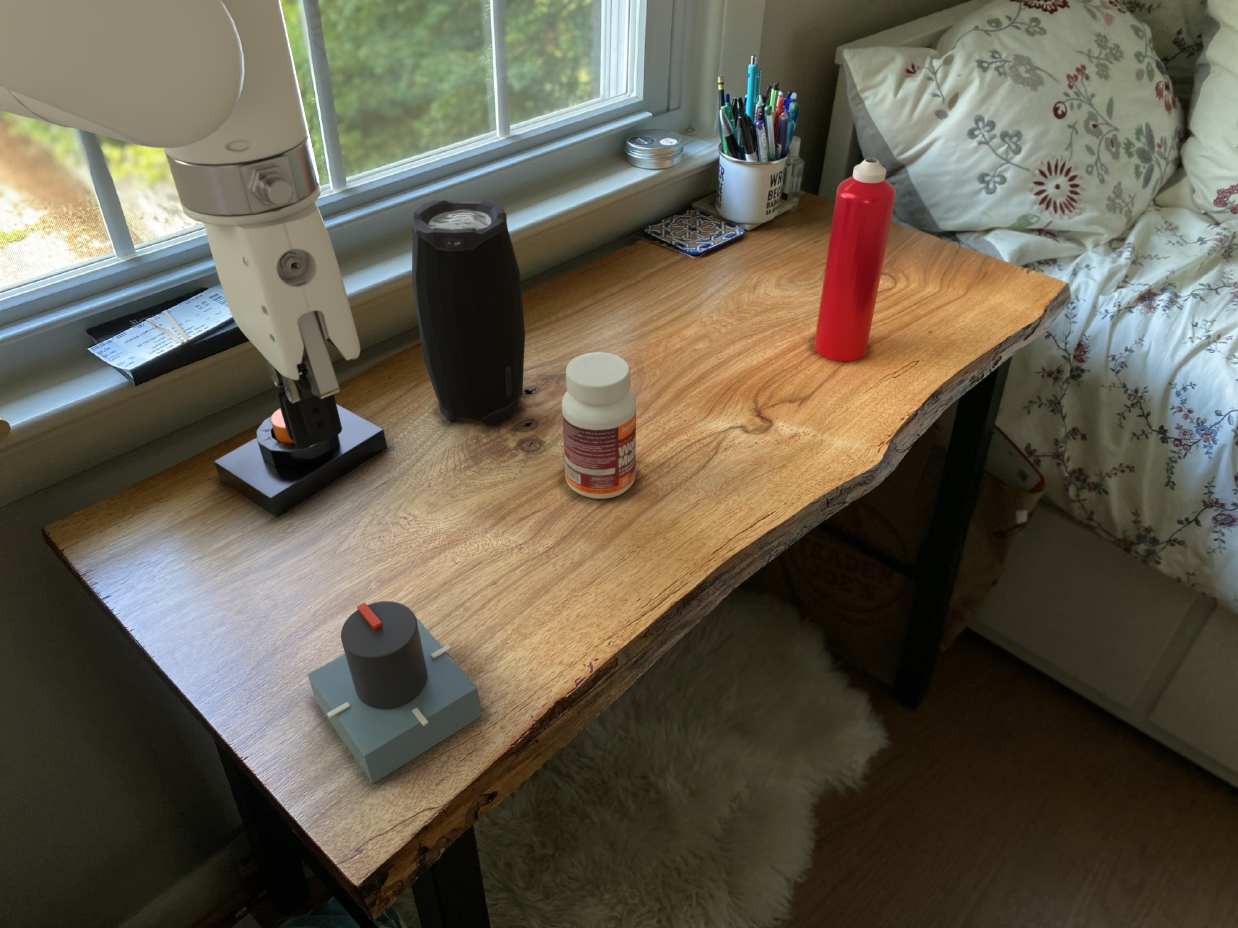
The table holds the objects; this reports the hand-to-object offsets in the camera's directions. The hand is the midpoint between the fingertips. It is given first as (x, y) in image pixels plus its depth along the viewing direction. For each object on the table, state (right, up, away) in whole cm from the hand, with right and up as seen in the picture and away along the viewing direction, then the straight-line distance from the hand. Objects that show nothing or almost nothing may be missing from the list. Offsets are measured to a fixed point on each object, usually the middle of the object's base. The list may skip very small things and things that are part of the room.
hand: (316, 435), depth 63 cm
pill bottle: (+19, -3, +18) cm, 26 cm away
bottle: (+44, +10, +35) cm, 57 cm away
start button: (-7, +1, +17) cm, 19 cm away
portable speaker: (+7, +4, +27) cm, 28 cm away
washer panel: (+6, -18, -1) cm, 19 cm away
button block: (-7, -2, +19) cm, 21 cm away
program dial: (+6, -16, -3) cm, 17 cm away
